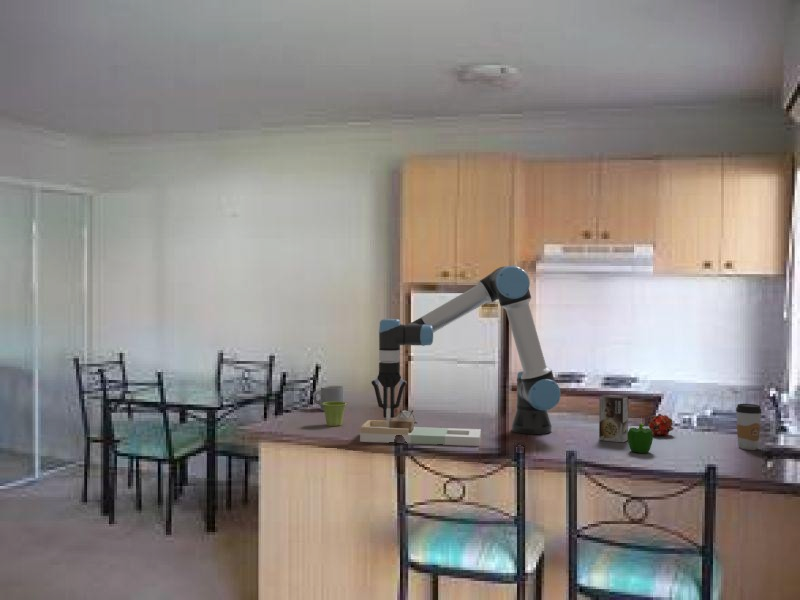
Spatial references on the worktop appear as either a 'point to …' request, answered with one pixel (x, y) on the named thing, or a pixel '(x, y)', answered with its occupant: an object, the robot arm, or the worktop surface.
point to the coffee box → (613, 418)
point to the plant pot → (334, 413)
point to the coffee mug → (329, 395)
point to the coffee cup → (748, 425)
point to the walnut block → (402, 423)
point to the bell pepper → (640, 439)
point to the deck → (419, 434)
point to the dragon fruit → (660, 425)
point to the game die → (406, 415)
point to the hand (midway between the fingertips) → (388, 426)
